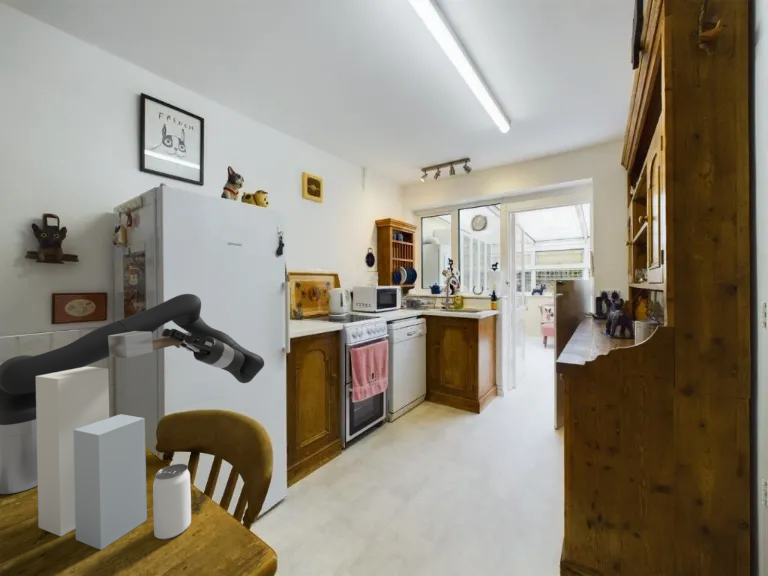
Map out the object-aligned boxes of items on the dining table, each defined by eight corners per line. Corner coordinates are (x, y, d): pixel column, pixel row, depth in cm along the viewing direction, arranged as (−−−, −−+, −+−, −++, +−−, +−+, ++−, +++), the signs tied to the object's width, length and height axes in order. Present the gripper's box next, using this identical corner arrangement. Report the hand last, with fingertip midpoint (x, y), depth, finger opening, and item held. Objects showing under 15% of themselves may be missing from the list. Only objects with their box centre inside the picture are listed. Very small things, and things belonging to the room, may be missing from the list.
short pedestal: (75, 539, 65) (73, 429, 65) (122, 512, 73) (120, 414, 73) (101, 549, 62) (98, 435, 62) (146, 520, 70) (144, 418, 70)
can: (173, 542, 64) (171, 481, 64) (145, 538, 65) (144, 478, 65) (198, 519, 70) (197, 463, 70) (172, 516, 71) (171, 461, 71)
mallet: (109, 356, 76) (108, 335, 76) (181, 340, 94) (180, 323, 94) (126, 358, 74) (125, 336, 74) (197, 341, 92) (196, 323, 92)
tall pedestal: (38, 527, 69) (35, 376, 69) (89, 501, 77) (86, 366, 77) (60, 536, 66) (57, 379, 66) (111, 508, 74) (108, 368, 75)
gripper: (202, 340, 105) (155, 318, 91) (236, 342, 100) (192, 319, 86) (193, 363, 101) (142, 344, 87) (227, 366, 97) (180, 346, 83)
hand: (167, 332), depth 87 cm, fingers closed on mallet
